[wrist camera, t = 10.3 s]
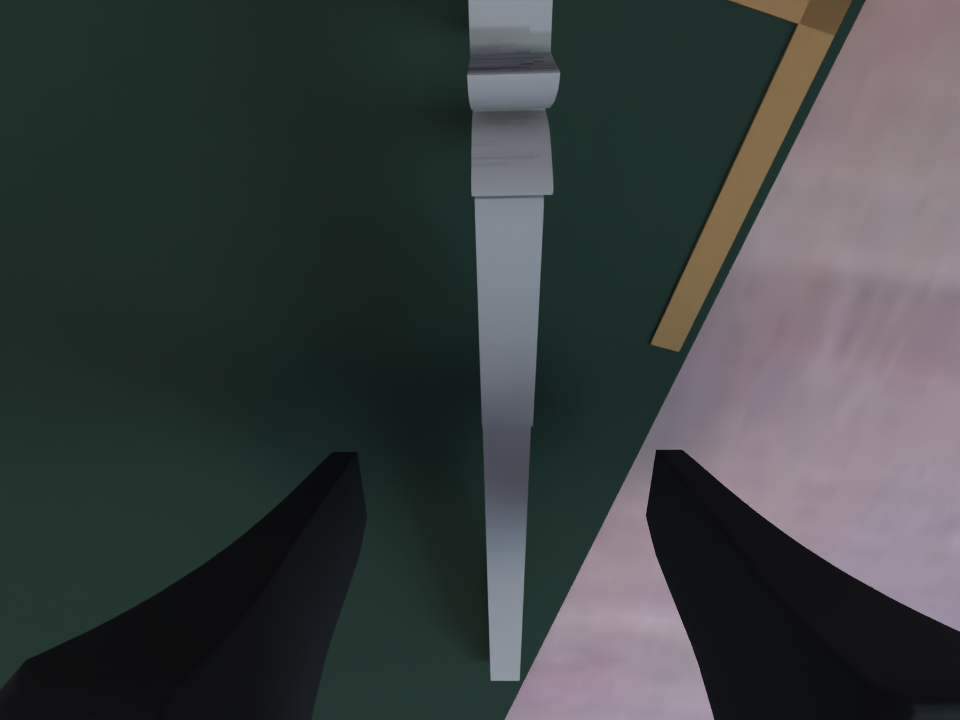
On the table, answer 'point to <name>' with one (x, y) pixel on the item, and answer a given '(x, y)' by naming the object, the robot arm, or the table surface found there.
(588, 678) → the table surface
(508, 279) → the caliper
